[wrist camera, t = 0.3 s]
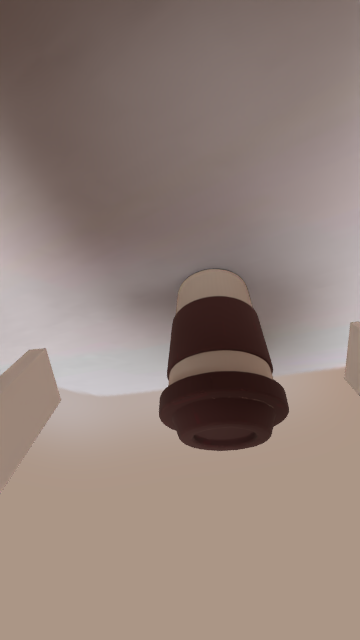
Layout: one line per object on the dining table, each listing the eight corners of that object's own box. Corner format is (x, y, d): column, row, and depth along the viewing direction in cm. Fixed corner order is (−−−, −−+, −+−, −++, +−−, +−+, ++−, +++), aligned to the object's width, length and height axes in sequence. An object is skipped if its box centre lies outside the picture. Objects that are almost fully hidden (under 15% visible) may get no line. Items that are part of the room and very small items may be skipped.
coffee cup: (211, 331, 37) (221, 462, 27) (146, 295, 32) (131, 441, 22) (279, 289, 31) (321, 437, 21) (212, 237, 26) (229, 401, 16)
